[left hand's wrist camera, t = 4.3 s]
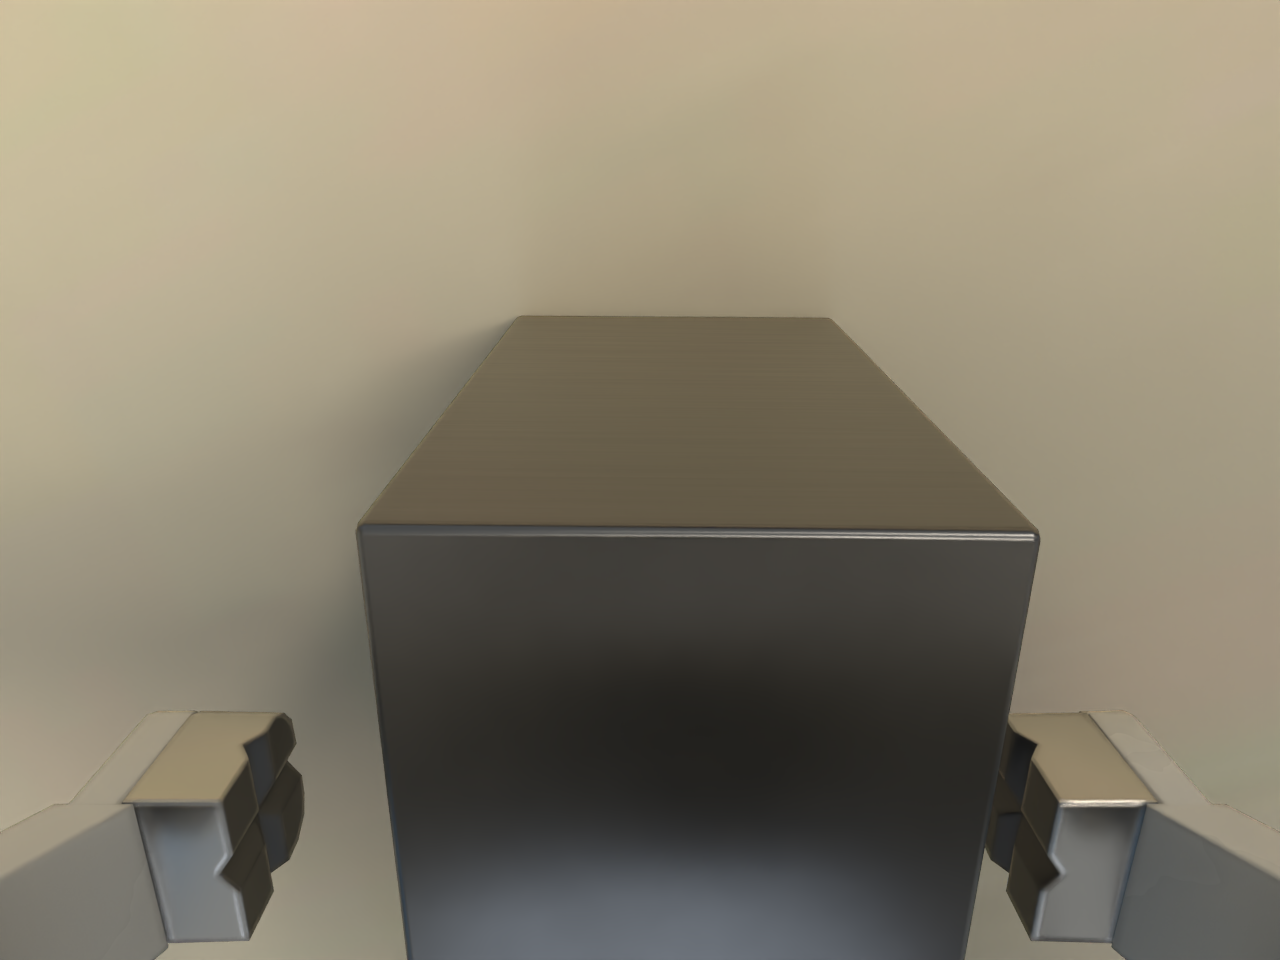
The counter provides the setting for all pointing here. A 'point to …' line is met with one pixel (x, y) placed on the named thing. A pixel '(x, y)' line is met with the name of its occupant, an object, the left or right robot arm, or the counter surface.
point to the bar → (690, 652)
